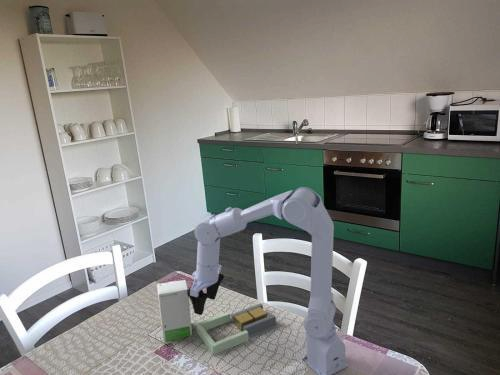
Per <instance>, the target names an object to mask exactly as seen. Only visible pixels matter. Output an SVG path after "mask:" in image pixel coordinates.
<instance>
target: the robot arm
mask: <svg viewBox="0 0 500 375" xmlns="http://www.w3.org/2000/svg"><path fill="white" fill-rule="evenodd" d="M269 216H275V217H276V218H278V219H279V220H283V219H284V220H285V221H286V222H288V224H291V225H293V226H295V227H297V228H299V229H302V230H303V231H306V232H307V233H308V234H309V235H311V257H310V258H311V260H310V261H311V262H310V264H311V265H310V267H311V268H310V296H309V297H310V298H309V302H308V308H307V316H306V317H305V318H304V320H303V327H304V331H305V335H306V336H305V339H306V356H305V357H303V358H301V360H302V361H303V362H304V363H305V364H306V365H307V366H309V368H311V369H312V370H313V371H314V373H316V374H317V375H334V374H336V373H337V372H340V371H342V370H344V369H345V368H347V367H349V364H348V363H347V362H346V345H345V343H344V341H343V340H342V339H341V338H340V337H339V335H338V333H337V327H336V324H335V322H334V317H335V315H336V312H337V305H336V302H335V300H334V294H333V292H332V285H333V284H332V283H333V280H332V279H333V261H334V260H333V256H334V255H333V254H334V231H335V230H334V229H335V225H334V222H333V220H332V218H331V216H330V215H329V212H328V210H327V209H326V207H325V204H324V203H323V200H322V197H321V196H320V195H319V194H318V193H317V192H316V191H314V190H313V189H312V188H309V187H308V186H307V187H306V186H305V187H304V186H303V187H302V186H300V187H298V188H296V189H295V190H294V189H293V190H288V191H286V192H282V193H280V194H279V193H278V194H277V195H275V196H273V197H270V198H268V199H266V200H263V201H261V202H259V203H256V204H254V205H252V206H249V207H247V208H245V209H241V208H239V207H234V208H232V206H229V207H227V208H226V209H225V210H224V211H223V212H221V213H219V214H215V213H213V214H211V215H210V216H208V217H207V218H205V219H204V220H202V221H201V222H200V223H198V224H197V225H196V227H195V228H194V231H193V232H194V237H195V239H196V240H197V248H196V249H197V251H196V252H197V253H196V266H195V267H196V270H195V271H193V272H192V274H191V276H192V277H193V278H194V279H193V284H192V286H190V287H189V288H188V290H187V295H188V296H189V301H191V304H192V310H193V313H194V314H196V315H199V316H202V315H203V313H204V311H205V305H206V301H207V299H209V300H213V301H215V299H216V297H217V294H218V291H219V288H220V286H221V284H222V282H223V280H224V279H225V275H224V274H222V273H221V272H222V265H221V264H220V263H219V260H220V250H221V247H220V246H221V238H224V237H227V236H231V235H233V234H235V233H239V232H241V231H243V230H245V229H246V227H247V224H248V223H251V222H254V221H257V220H261V219H263V218H266V217H269ZM204 289H206V292H204Z"/></svg>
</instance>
